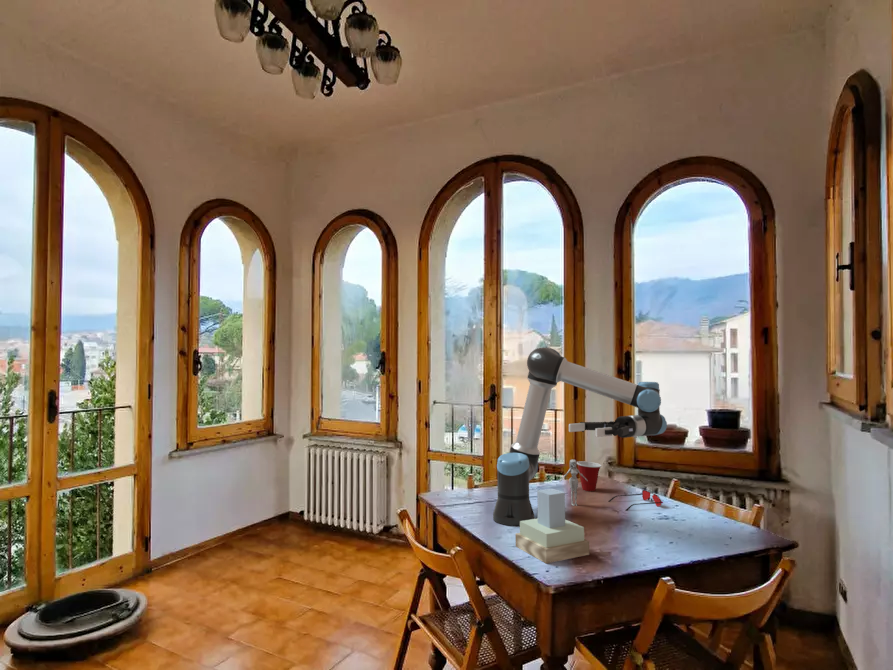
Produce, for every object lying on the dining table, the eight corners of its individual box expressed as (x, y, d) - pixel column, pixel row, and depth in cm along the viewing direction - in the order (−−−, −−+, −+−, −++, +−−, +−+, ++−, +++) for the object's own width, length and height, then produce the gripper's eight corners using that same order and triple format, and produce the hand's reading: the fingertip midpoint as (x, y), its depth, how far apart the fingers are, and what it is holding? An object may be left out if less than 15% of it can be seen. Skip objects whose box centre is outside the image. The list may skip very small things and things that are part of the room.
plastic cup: (602, 493, 237) (602, 465, 237) (577, 492, 239) (577, 464, 239) (600, 487, 247) (600, 461, 248) (576, 486, 250) (576, 460, 250)
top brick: (519, 534, 171) (519, 521, 171) (555, 527, 177) (555, 515, 177) (546, 548, 158) (546, 534, 158) (584, 540, 164) (584, 527, 165)
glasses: (663, 509, 214) (663, 496, 214) (625, 511, 210) (625, 498, 210) (644, 499, 227) (643, 487, 227) (607, 502, 224) (607, 490, 224)
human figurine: (561, 506, 217) (560, 461, 217) (558, 503, 220) (557, 459, 221) (589, 505, 218) (589, 460, 219) (586, 502, 222) (585, 458, 223)
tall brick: (537, 522, 169) (537, 490, 170) (553, 520, 172) (552, 488, 172) (549, 528, 164) (549, 495, 164) (565, 525, 166) (564, 492, 167)
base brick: (515, 546, 171) (515, 533, 171) (556, 538, 178) (556, 526, 178) (546, 563, 157) (546, 549, 157) (589, 554, 164) (589, 541, 164)
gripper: (657, 441, 181) (608, 446, 172) (604, 432, 204) (559, 436, 194) (656, 419, 182) (608, 423, 172) (604, 412, 204) (559, 415, 195)
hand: (582, 430), depth 183 cm, fingers open, 13 cm apart
